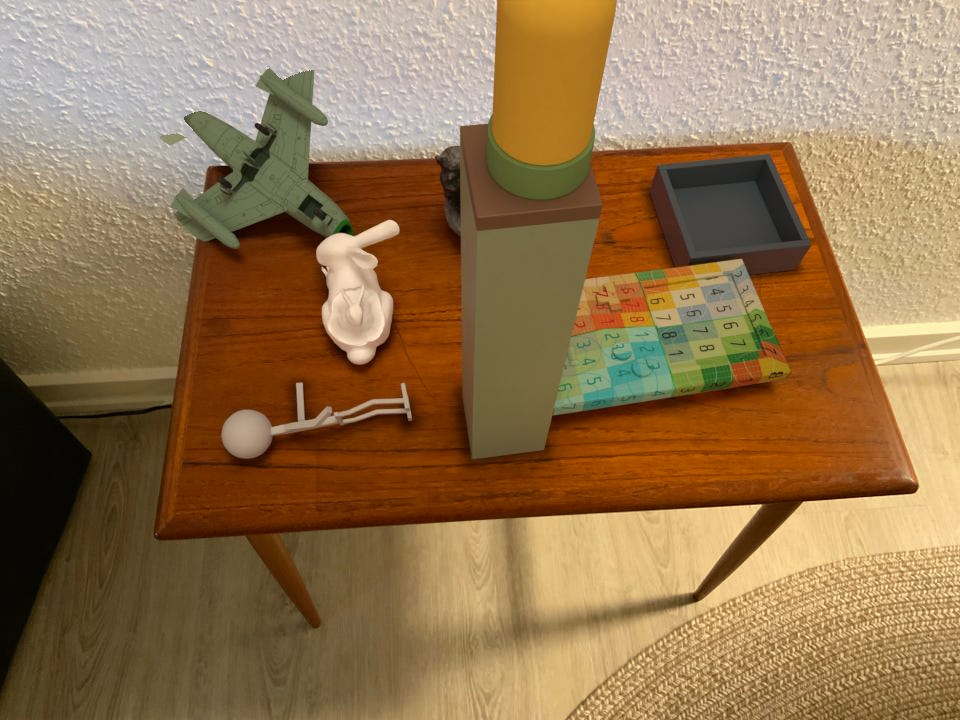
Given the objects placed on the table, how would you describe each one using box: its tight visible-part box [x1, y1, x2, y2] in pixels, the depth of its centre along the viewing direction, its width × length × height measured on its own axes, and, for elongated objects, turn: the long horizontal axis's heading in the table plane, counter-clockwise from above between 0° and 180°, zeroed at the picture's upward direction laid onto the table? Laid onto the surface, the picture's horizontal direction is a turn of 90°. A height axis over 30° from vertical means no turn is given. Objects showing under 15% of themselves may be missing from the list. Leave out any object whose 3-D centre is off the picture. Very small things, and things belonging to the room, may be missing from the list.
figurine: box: [220, 382, 413, 459], centre depth 59 cm, size 6×6×15 cm
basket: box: [649, 153, 812, 276], centre depth 71 cm, size 11×11×4 cm
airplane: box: [158, 67, 355, 250], centre depth 73 cm, size 24×23×10 cm
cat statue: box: [434, 145, 461, 238], centre depth 67 cm, size 12×7×10 cm, turn 86°
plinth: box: [459, 123, 604, 460], centre depth 49 cm, size 6×6×30 cm
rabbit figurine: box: [315, 219, 401, 366], centre depth 63 cm, size 12×8×10 cm, turn 10°
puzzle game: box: [552, 259, 792, 416], centre depth 63 cm, size 12×5×20 cm
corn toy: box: [486, 0, 618, 200], centre depth 31 cm, size 5×5×11 cm
